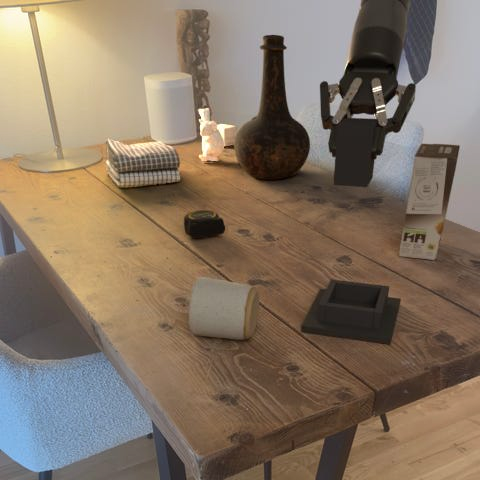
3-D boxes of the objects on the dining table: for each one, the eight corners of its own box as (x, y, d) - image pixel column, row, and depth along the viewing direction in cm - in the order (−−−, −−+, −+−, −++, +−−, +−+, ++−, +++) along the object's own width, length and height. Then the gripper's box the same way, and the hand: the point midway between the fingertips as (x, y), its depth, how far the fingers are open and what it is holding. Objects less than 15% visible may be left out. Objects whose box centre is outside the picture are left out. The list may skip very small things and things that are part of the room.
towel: (119, 192, 128) (114, 155, 123) (105, 172, 141) (100, 137, 136) (184, 184, 132) (181, 147, 127) (164, 165, 145) (161, 131, 140)
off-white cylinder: (249, 351, 73) (249, 296, 68) (189, 345, 75) (185, 290, 70) (265, 314, 81) (266, 263, 77) (210, 309, 83) (208, 259, 78)
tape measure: (190, 244, 103) (188, 223, 100) (180, 231, 108) (179, 211, 105) (225, 238, 104) (225, 218, 102) (215, 226, 110) (214, 206, 107)
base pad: (399, 304, 83) (403, 282, 80) (390, 345, 74) (394, 321, 72) (319, 294, 86) (321, 272, 84) (301, 332, 77) (302, 308, 75)
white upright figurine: (192, 158, 150) (189, 107, 142) (216, 155, 152) (214, 105, 144) (203, 166, 144) (201, 113, 136) (228, 163, 146) (226, 110, 138)
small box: (238, 144, 161) (237, 125, 158) (224, 148, 158) (223, 129, 155) (223, 141, 164) (223, 122, 161) (210, 145, 161) (209, 126, 158)
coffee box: (436, 261, 95) (457, 158, 85) (397, 257, 96) (414, 155, 86) (440, 241, 101) (460, 144, 91) (404, 238, 103) (420, 142, 93)
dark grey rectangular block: (372, 178, 85) (379, 118, 80) (367, 187, 82) (374, 126, 77) (339, 175, 87) (344, 117, 82) (333, 185, 83) (337, 124, 78)
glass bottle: (286, 162, 146) (290, 29, 128) (322, 179, 133) (332, 35, 115) (223, 171, 140) (218, 34, 122) (254, 190, 127) (254, 40, 110)
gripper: (325, 24, 80) (301, 136, 78) (430, 23, 76) (406, 141, 75) (330, 63, 87) (307, 167, 86) (426, 64, 83) (404, 173, 82)
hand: (353, 154), depth 80 cm, fingers closed on dark grey rectangular block, 5 cm apart
